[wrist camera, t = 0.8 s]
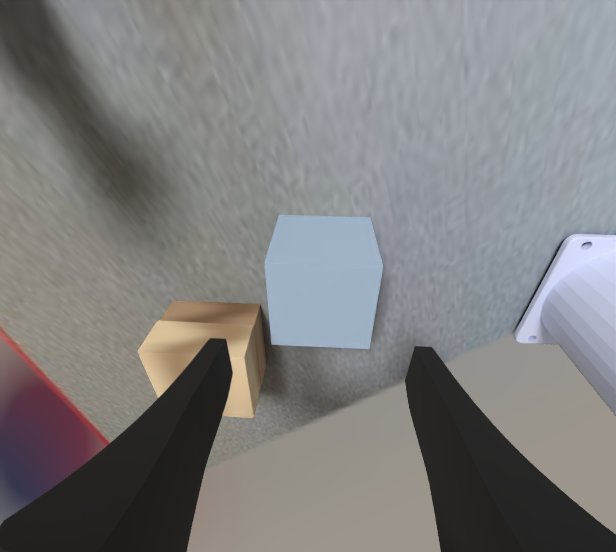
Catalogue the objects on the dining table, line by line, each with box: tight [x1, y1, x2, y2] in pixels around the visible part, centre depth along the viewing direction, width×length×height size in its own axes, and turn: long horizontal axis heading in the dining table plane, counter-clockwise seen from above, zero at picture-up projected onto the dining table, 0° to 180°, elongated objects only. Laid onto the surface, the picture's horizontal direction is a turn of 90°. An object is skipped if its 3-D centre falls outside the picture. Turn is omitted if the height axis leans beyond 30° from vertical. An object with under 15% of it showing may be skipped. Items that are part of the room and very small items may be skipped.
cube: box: [265, 215, 383, 349], centre depth 17 cm, size 5×5×5 cm
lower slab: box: [160, 301, 266, 387], centre depth 22 cm, size 6×6×2 cm
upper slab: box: [138, 321, 261, 418], centre depth 20 cm, size 6×6×2 cm
